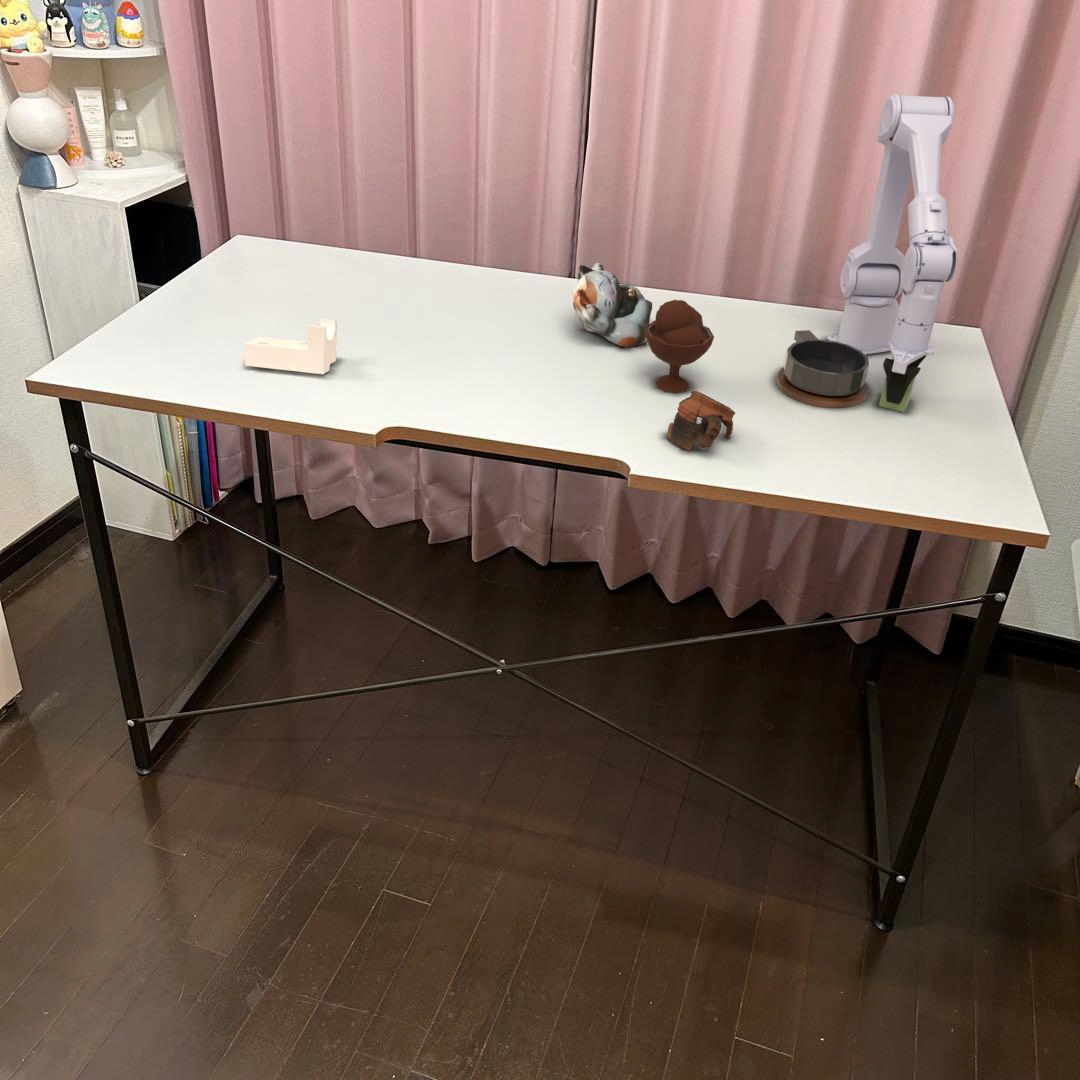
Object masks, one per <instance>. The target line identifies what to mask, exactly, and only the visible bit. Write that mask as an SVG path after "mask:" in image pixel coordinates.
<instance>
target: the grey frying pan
mask: <svg viewBox="0 0 1080 1080" xmlns="http://www.w3.org/2000/svg"><path fill="white" fill-rule="evenodd" d="M793 340H794V341H795V342H792V343H791V344H790V345H789V347H787V348H786V354H785V360H784V363H783V364H784V365H783V367H784V374H785V377H786V378H787V380H788V381H789V382H790V383H792V384H793V385H794V386H796V387H798V388H800V389H802V390H805V391H808V392H811V393H815V394H820V395H828V396H842V395H849V394H852V393H855V392H857V391H858V390H860V389H861V387H862V386H863V385H864V383H865V381H866V380H867V375H868V371H869V367H870V360H869V357H868V356H867V355H865V354H864V353H863V352H862V351H860V350H858V349H856V348H854V347H852V346H850V345H847V344H843V343H840V342H836V341H830V340H828V339H820V338H818V337H817V336H816V335H815V334H814V333H813V332H812V331H811V330H810V329H806V330H805V329H804V330H803V329H802V330H795V331H794V337H793ZM866 382H867V381H866Z"/></svg>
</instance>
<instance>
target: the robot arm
mask: <svg viewBox="0 0 1080 1080" xmlns="http://www.w3.org/2000/svg"><path fill="white" fill-rule="evenodd" d="M954 120H955V104H954V102H953V100H952V98H951V97H950V96H947V95H946V96H923V95H921V96H920V95H903V94H901V95H900V94H898V93H893V94H891V95H890V96H889V97H888V98H886V100H885V102H884V103H883V105H882V109H881V113H880V119H879V124H878V129H877V139H876V141H877V143H879V144H882V145H884V148H883V155H882V161H881V166H880V171H879V176H878V181H877V185H876V190H875V197H874V200H873V202H874V203H873V206H872V211H871V216H870V221H869V227H868V232H867V236H866V241H864V242H862V243H861V244H859V245H857V246H855V247H854V248H851V249H850V250H849V251H848V252H847V254H846V258H845V260H844V261H845V262H844V265H842V269H841V272H840V280H839V286H840V287H839V288H840V291H841V293H842V295H843V297H845V298H846V299H845V302H844V303H845V304H844V308H843V312H842V317H841V322H840V327H839V330H838V331H839V332H838V334H834V335H828V336H827V338H826V340H830V341H836V342H840V343H843V344H847V345H850V346H852V347H854V348H856V349H858V350H860V351H862V352H863V353H864V354H865V355H866V356H867V355H873V354H879V353H887V352H890V354H891V357H892V358H888V357H885V358H884V360H883V363H882V367H883V371H884V374H885V379H886V380H887V389H886V400H887V402H890V403H894V404H900V402H901V401H902V399H903V397H904V394H905V392H906V390H907V388H908V386H909V384H910V382H911V381H912V380H913V378H914V377H915V376H916V377H917V375H919V373H920V371H921V369H922V368H921V367H919V366H920V364H922V362H923V361H924V360H925V359H926V358H927V356H931V357H932V356H934V354H935V352H936V348H935V347H933V346H930V345H929V343H930V340H931V338H932V337H931V336H932V332H933V329H934V325H935V322H936V317H937V314H938V310H939V307H940V303H941V299H942V295H943V291H944V288H945V282H946V283H949V282H951V281H952V279H953V278H954V276H955V273H956V270H957V265H958V249H957V246H956V245H955V243H954V238H953V236H949V235H950V234H949V216H948V215H949V213H948V201H947V199H945V197H944V196H942V195H941V194H940V184H941V183H940V181H941V164H942V163H941V160H942V159H941V158H942V157H941V156H942V146H943V145H944V144H945V142H946V140H947V139H948V137H949V134H950V132H951V130H952V127H953V124H954ZM910 178H911V181H912V187H913V194H914V198H913V199H912V200H911V201H910V202H909V204H908V206H907V223H908V225H907V226H908V244H909V245H908V248H907V250H906V253H905V254H903V252H901V250H899V248H898V247H896V245H897V240H898V234H899V231H900V226H901V221H902V216H903V212H904V211H903V210H904V208H905V207H904V206H905V203H906V197H907V192H908V187H909V184H910ZM901 294H902V295H901ZM900 295H901V297H900V302H898V300H897V299H898V298H899V296H900Z"/></svg>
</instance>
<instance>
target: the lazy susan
mask: <svg viewBox="0 0 1080 1080" xmlns="http://www.w3.org/2000/svg"><path fill="white" fill-rule="evenodd" d="M776 386H777V387H778V389H779V390H780V391H781V392H782V393H783V394H785V395H786V396H787V397H790V399H793V400H795V401H798V402H800V403H802V404H803V403H804V404H806V405H810V406H814V407H819V408H828V409H829V408H831V409H841V408H849V407H853V406H856V405H859V404H861V403H862V402H864V401H865V400H866V399H867V396H868V393H869V385H868V383H867V381H865V383H864V385H863V386H862V387H861V389H860V390H858V391H857V392H855V393H852V394H849V395H842V396H828V395H820V394H815V393H811V392H808V391H805V390H802V389H800V388H798V387H796V386H794V385H793V384H792V383H790V382H789V381H788V380H787V378H786V377H785V374H784V366H783V367H781V368H780V370H779V371H778V372H777V375H776Z"/></svg>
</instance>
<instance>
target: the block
mask: <svg viewBox="0 0 1080 1080" xmlns="http://www.w3.org/2000/svg"><path fill="white" fill-rule="evenodd" d="M916 377H917V375H916V376H915V377H914V378H913V380H912V381H911V382H910V384H909V386H908V388H907V390H906V392H905V394H904V397H903V399H902V401H901V402H900V404H894V403H890V402H887V400H886V389H887V380H886V378H885V379H884V382H883V387H882V391H881V395H880V399H879V404H878V407H881V408H885V409H889V410H893V411H897V412H902V413H906V410H907V408H908V405H909V403H910V400H911V396H912V393H913V388H914V386H915V385H914V384H915V381H916Z"/></svg>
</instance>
